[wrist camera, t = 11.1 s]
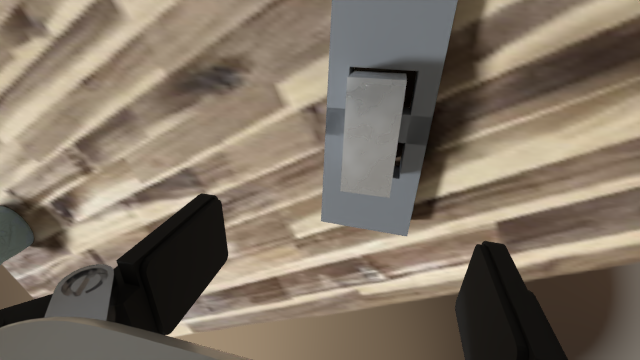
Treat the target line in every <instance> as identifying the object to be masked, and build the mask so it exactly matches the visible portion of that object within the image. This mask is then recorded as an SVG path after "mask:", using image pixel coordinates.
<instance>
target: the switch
mask: <svg viewBox="0 0 640 360" xmlns="http://www.w3.org/2000/svg"><path fill="white" fill-rule="evenodd" d="M457 1H458V0H332V13H331V33H330V53H329V73H328V93H327V114H326V134H325V154H324V174H323V194H322V214H321V221H323V222H328V223H334V224H340V225H345V226H351V227H357V228H362V229H368V230H374V231H379V232H385V233H391V234H397V235H402V236H407V234H408V229H409V225H410V220H411V215H412V211H413V206H414V201H415V197H416V192H417V188H418V183H419V178H420V174H421V169H422V164H423V160H424V155H425V150H426V146H427V141H428V136H429V132H430V127H431V122H432V118H433V113H434V108H435V104H436V99H437V94H438V90H439V85H440V80H441V76H442V71H443V66H444V62H445V57H446V52H447V48H448V43H449V38H450V34H451V29H452V24H453V20H454V15H455V11H456V6H457ZM354 67H363V68H378V69H393V70H408V71H416V76H415V82H414V87H413V93H412V99H411V104H410V108H408V107H403V110H402V117H401V124H400V130H399V137H398V143H404V144H403V149H402V155H401V161H400V166H394V171H393V178H392V185H391V192H390V198H387V197H379V196H372V195H365V194H357V193H350V192H343V191H340V190H341V173H342V156H343V140H344V123H345V106H346V89H347V77H348V76H349V75H351V74H352V73H353V72H354Z"/></svg>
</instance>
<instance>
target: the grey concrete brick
mask: <svg viewBox="0 0 640 360" xmlns="http://www.w3.org/2000/svg"><path fill="white" fill-rule="evenodd" d="M406 83H407V77H406V73H386V72H366V71H354V72H353V73H352V74H351V75H349V76H348V77H347V89H346V106H345V123H344V140H343V156H342V173H341V190H340V191H343V192H350V193H357V194H365V195H372V196H379V197H387V198H390V192H391V185H392V178H393V171H394V165H395V158H396V151H397V144H398V137H399V130H400V124H401V117H402V110H403V103H404V96H405V90H406Z"/></svg>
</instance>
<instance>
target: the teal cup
mask: <svg viewBox="0 0 640 360" xmlns="http://www.w3.org/2000/svg"><path fill="white" fill-rule="evenodd" d="M33 241H34V236H33V232H32V231H31V228H30V227H29V225H28V224H27V223H26V222H25V221H24V220H23V219H22V217H20V216H19V215H18V214H17V213H16V212H14V211H13V210H11V209H9V208H7V207H4V206H0V265H1V264H2V263H3V262H4V261H6V260H8V259H9V258H11V257H13V256H15V255H16V254H18V253H19V252H21V251H23V250H24V249H25V248H27V247H28V246H30V245H31V244H32V243H33Z"/></svg>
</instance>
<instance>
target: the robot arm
mask: <svg viewBox="0 0 640 360" xmlns="http://www.w3.org/2000/svg"><path fill="white" fill-rule="evenodd" d="M227 258H228V248H227V241H226V233H225V226H224V218H223V211H222V204H221V201H220V200H218V198H217V196H215V195H209V194H200V195H198V196H197V197H196V198H194V199H193V200H192V201H191V202H189V203H188V204H187V205H186V206H184V207H183V208H182V209H181V210H179V211H178V212H177V213H175V214H174V215H173V216H172V217H170V218H169V219H168V220H167V221H165V222H164V223H163V224H162V225H160V226H159V227H158V228H157V229H155V230H154V231H153V232H152V233H150V234H149V235H148V236H147V237H145V238H144V239H143V240H142V241H140V242H139V243H138V244H137V245H135V246H134V247H133V248H132V249H130V250H129V251H128V252H126V253H125V254H124V255H123V256H121V257H120V258H119V259H118V260H116V261H117V264H118V266H117V267H116V268H115V269H112V267H111V266H108V265H105V264H96V265H90V266H87V267H84V268H81V269H78V270H76V271H74V272H72V273H71V274H69V275H68V276H66V277H65V278H63V279H62V280H61V281H60V282H59V283H58V285H57V286H56V288H55V290H54V293H53V294H51V295H47V296H44V297H41V298H38V299H34V300H31V301H28V302H24V303H21V304H18V305H14V306H11V307H8V308H4V309H1V310H0V360H252V359H248V358H245V357H241V356H238V355H234V354H230V353H227V352H223V351H220V350H216V349H212V348H209V347H205V346H201V345H198V344H194V343H191V342H187V341H183V340H180V339H176V338H173V337H169V336H165V335H168V334H170V333H171V332H172V331H173V330H174V329H175V327H176V326H177V325H178V324H179V322H180V321H181V320H182V318H183V317H184V316H185V314H186V313H187V312H188V311H189V309H190V308H191V307H192V305H193V304H194V303H195V301H196V300H197V299H198V298H199V296H200V295H201V294H202V292H203V291H204V290H205V288H206V287H207V286H208V284H209V283H210V282H211V281H212V279H213V278H214V277H215V275H216V274H217V273H218V271H219V270H220V269H221V268H222V266H223V265H224V264H225V262H226V260H227ZM455 311H456V317H457V322H458V327H459V332H460V336H461V342H462V347H463V351H464V357H465V360H568V359H567V357H566V355H565V353H564V351H563V349H562V347H561V345H560V343H559V341H558V339H557V338H556V336H555V334H554V332H553V330H552V328H551V326H550V324H549V322H548V320H547V318H546V316H545V315H544V312H543V310H542V308H541V306H540V304H539V303H538V301H537V299H536V297H535V295H534V294H533V293H532V292H531V291H529V290H527V288H526V286H525V284H524V282H523V280H522V278H521V276H520V274H519V272H518V270H517V268H516V266H515V264H514V262H513V260H512V258H511V256H510V254H509V252H508V250H507V248H506V246H505V245H504V244H500V243H494V242H488V241H484V242H483V243H482V245H480V244H477V245H476V246H475V249H474V252H473V255H472V257H471V260H470V263H469V266H468V269H467V272H466V274H465V277H464V280H463V283H462V286H461V289H460V291H459V294H458V297H457V300H456V306H455Z"/></svg>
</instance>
